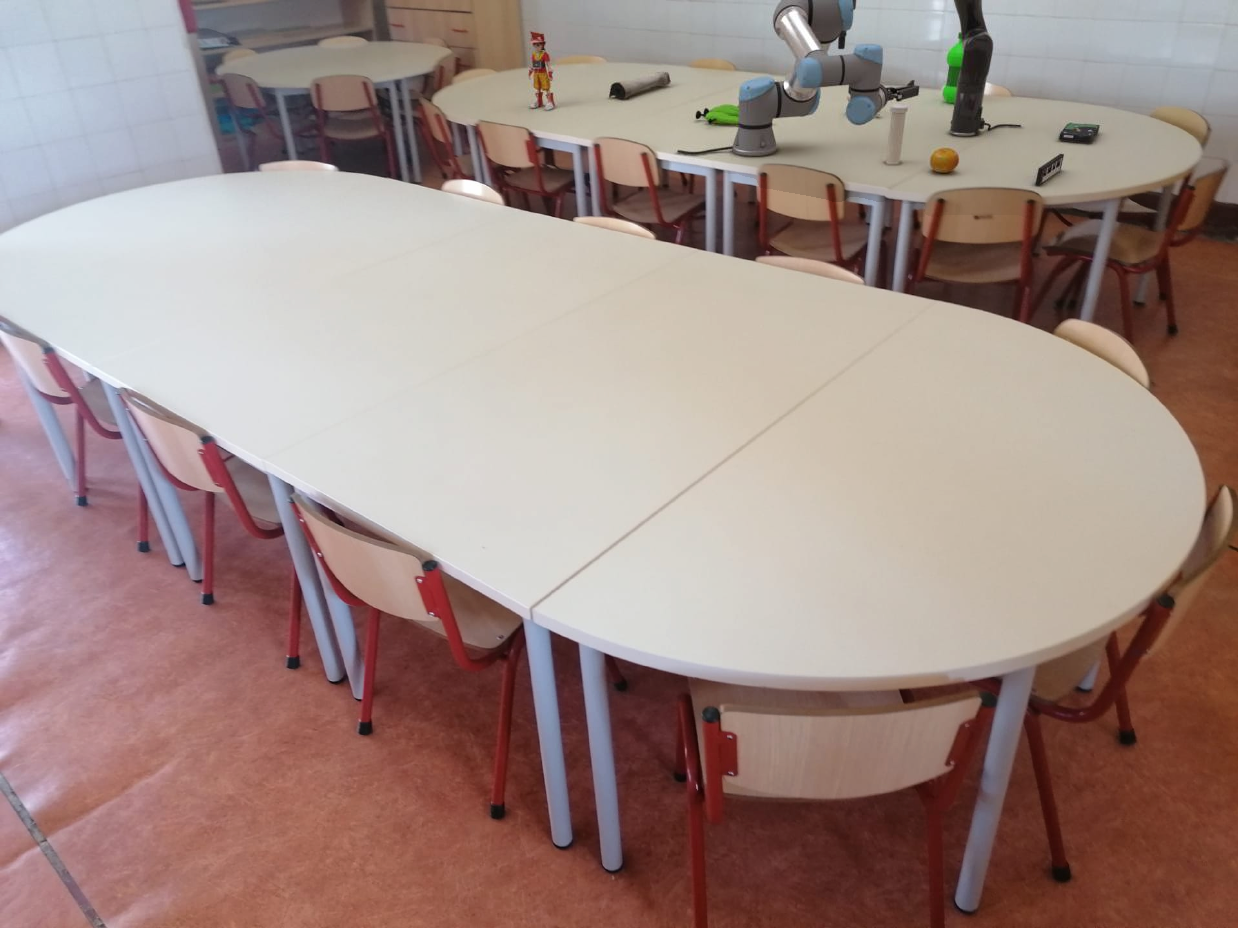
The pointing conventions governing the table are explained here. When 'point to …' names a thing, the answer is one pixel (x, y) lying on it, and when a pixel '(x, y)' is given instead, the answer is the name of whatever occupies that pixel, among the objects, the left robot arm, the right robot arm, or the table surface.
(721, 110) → the toy
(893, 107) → the lid
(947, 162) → the fruit
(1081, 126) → the disk drive
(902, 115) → the beige plastic cylinder
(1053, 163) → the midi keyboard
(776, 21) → the left robot arm
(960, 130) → the right robot arm
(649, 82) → the rolled mat
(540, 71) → the toy
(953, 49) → the plastic bottle
